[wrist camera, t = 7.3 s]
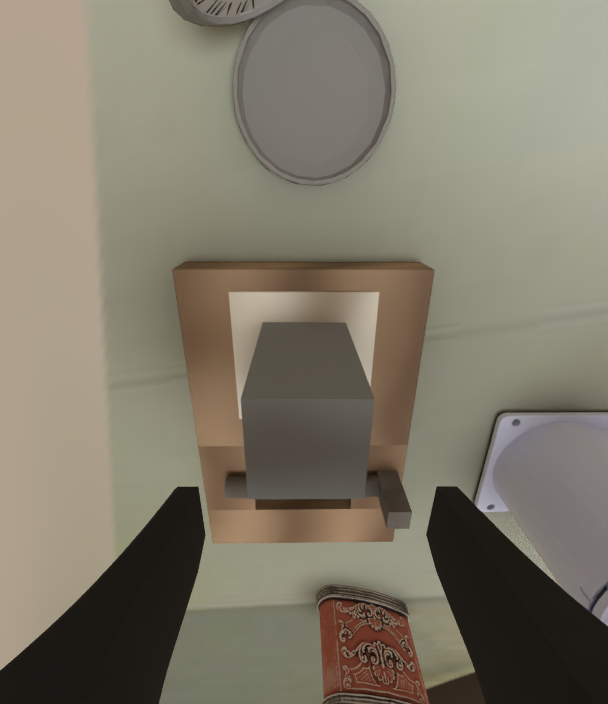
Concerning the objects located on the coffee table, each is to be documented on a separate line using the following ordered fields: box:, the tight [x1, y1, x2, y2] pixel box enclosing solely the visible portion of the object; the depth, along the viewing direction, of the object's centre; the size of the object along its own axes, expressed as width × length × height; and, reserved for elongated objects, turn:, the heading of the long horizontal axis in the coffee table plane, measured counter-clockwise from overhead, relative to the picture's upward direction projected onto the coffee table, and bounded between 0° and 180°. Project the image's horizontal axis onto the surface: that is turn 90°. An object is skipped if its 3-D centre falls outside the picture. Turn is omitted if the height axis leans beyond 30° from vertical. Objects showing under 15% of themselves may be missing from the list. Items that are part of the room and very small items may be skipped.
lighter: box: [317, 585, 429, 704], centre depth 25 cm, size 8×3×10 cm, turn 68°
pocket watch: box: [169, 0, 396, 185], centre depth 10 cm, size 8×8×10 cm
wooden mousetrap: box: [173, 262, 434, 543], centre depth 19 cm, size 12×18×5 cm, turn 0°
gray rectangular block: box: [241, 322, 375, 499], centre depth 14 cm, size 4×4×7 cm
